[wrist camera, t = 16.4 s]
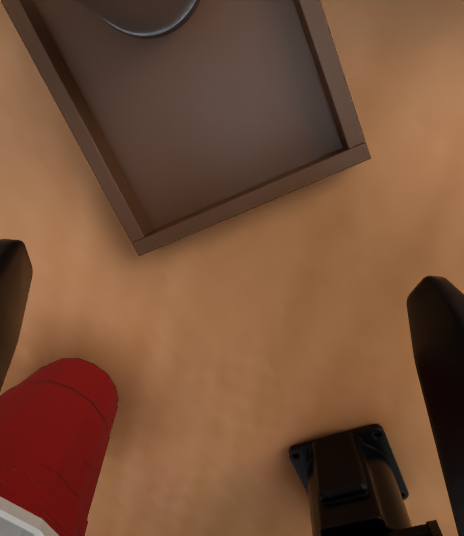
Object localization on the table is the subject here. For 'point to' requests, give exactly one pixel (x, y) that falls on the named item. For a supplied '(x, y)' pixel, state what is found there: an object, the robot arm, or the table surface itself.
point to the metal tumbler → (143, 15)
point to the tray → (197, 107)
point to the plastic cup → (53, 448)
